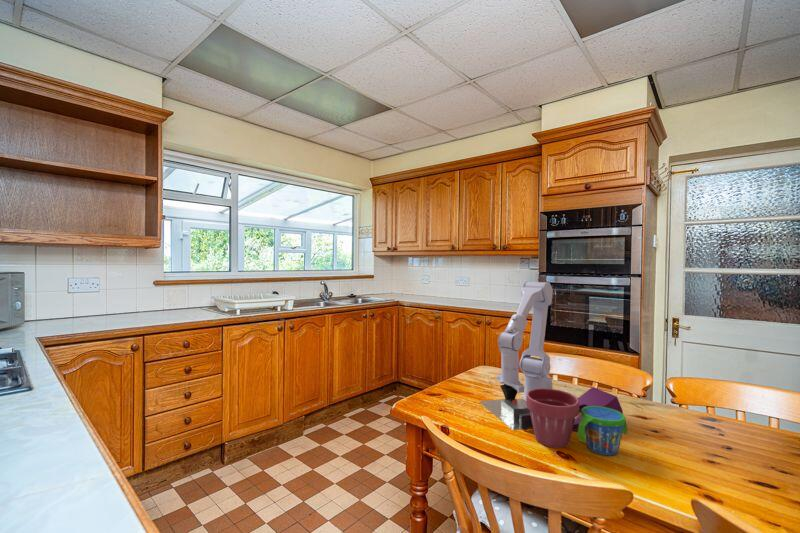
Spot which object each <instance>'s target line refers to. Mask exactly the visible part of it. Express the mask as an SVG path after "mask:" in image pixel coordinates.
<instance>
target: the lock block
mask: <svg viewBox="0 0 800 533" xmlns="http://www.w3.org/2000/svg"><path fill="white" fill-rule="evenodd" d="M501 413H502V414H504V415H505V416H506V417H507V418H509V419H510V420H511V421H512V422H518V414H522V413H530V410H529V409H528V408H527V406H526V399H524V398H523V397H521V398H515V399H510V400H501Z"/></svg>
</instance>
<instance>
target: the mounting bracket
mask: <svg viewBox="0 0 800 533" xmlns="http://www.w3.org/2000/svg"><path fill="white" fill-rule="evenodd" d="M577 398H578V400H579V414H578V416H577V417H575V421H574V425H573V429H572V431H578V427H579V423H580V420H581V418H582V415H581V409H582V408H583V407H586V406H600V407H606V408H610V409H613V410H616V411H618V412H620V413H622V414H623V415H624V412H623V407H622V406H621V402H620V401H619V399H618V396H616V395H614V394H611V393H609V392H606V391H604V390H601V389H599V388H596V387H594V386H592V387H591V388H589V389H588V390H586V391H585V392H584V393H583V394H581V395H580V396H578V397H577Z"/></svg>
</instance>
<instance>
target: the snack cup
mask: <svg viewBox="0 0 800 533" xmlns="http://www.w3.org/2000/svg"><path fill="white" fill-rule="evenodd" d="M580 415H582V418H581V420H580V423H579V427H578V430H577V434H576V435H577V438H578V439H579V441H580V442H582V443H586V445H587V447H588V448H589V449H590V450H591V451H592V452H594V453H596V454H599V455H603V456H614V455H616V454H619V450H620V446H621V441H622V434H623V435H627V434H628V424H627V419H626V417H625V415H624V413H623V414H622V413H620V412H618V411H616V410H613V409H610V408H606V407H600V406H586V407H583V408H582V409H581V412H580Z"/></svg>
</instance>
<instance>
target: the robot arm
mask: <svg viewBox="0 0 800 533" xmlns="http://www.w3.org/2000/svg"><path fill="white" fill-rule="evenodd" d="M553 290H554V289H553V287H552V285H551V283H550V282H549V281H545V282H544V281H543V282H542V281H524V282H523V283H522V285H521V288H520V293H521V300H520V303H519V306H518V308H517V311H516V313H515V314H512V316H511V317H510V318H509V319H510V320H509V321H508V324H507V326H506V328H505V330H504V331H503V332H501V333H499V336H498V339H497V345H498V347H499V353H500V354H501V355H500V357H501V360H500V361H501V363H500V364H501V371H500V372H501V373H497V376H496V377H497V381H498V383H500V384H501V385H499V386H500V389H501V391H502V393H503V396H504V399H505V400H510V399H516V397H517V395H518V394H520V395H519V397H521V398H522V399H524V400H526V396H527V392H528V391H530V390H532V389H538V388H546V389H554V388H553V386H554V384H553V380H552V377H551V376H550V375H549V374H550V372H551V361H550V360H551V357H550V356H549V354H548V353H546V351H545V350H544V344H545V337H546V328H547V320H548V319H547V318H548V309H549V306H551V305H552V301H553V294H554V291H553ZM532 309H533V310H532ZM531 310H532V318H531V319H532V321H531V327H530V337H529V346H528V348H526V349H525V350H524V351H522V353H521V354H522V355H521V358H520V360H519V357H520V356H519V350H520V349H521V347H522V345H523V338H524V336H523V335H524V332H525V330H526V327H527V325H528V320H527V318H528V315H529V313H530V311H531ZM519 368H520V370H519ZM520 371H521V372H522V375H524V386H523V384H522V383H521V381H520V380H519V376H520ZM521 393H522V394H521ZM523 393H524V394H523Z"/></svg>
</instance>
